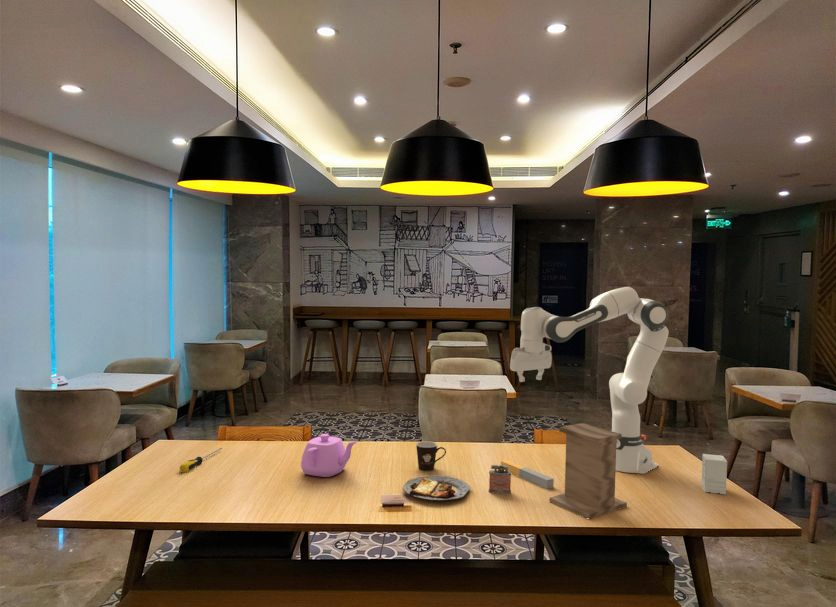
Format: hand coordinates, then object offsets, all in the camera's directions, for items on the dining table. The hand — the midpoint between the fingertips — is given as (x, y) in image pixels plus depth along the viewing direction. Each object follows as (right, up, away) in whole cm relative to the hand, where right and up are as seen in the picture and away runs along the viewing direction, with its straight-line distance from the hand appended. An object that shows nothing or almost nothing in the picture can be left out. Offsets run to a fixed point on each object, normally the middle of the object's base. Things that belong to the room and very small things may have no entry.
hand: (530, 380), depth 229 cm
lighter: (-16, -38, -23) cm, 47 cm away
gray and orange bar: (-3, -37, -7) cm, 38 cm away
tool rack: (+13, -39, -33) cm, 52 cm away
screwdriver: (-136, -35, +7) cm, 141 cm away
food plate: (-39, -38, -24) cm, 59 cm away
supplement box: (+65, -39, -17) cm, 78 cm away
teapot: (-83, -36, -4) cm, 90 cm away
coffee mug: (-41, -37, +1) cm, 55 cm away
